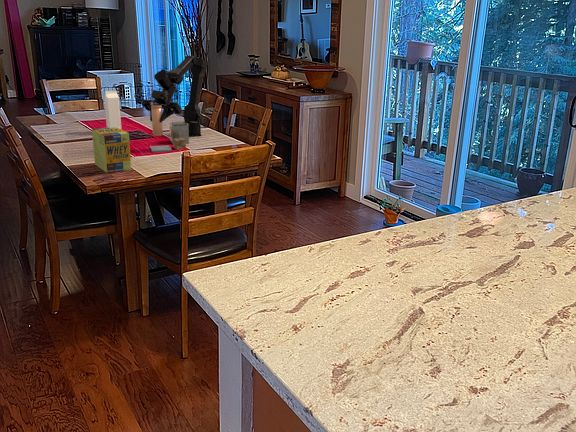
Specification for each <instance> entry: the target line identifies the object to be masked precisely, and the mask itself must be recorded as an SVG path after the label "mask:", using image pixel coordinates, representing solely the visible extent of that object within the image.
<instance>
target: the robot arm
mask: <svg viewBox="0 0 576 432" xmlns="http://www.w3.org/2000/svg"><path fill="white" fill-rule="evenodd" d="M207 68H208V63H207V62H206V60H205V59H202V58H199V57H197V56H195V55H186V56H184V58H183V60H182V61H181V62H180V63H179V64H178V65H177V66H176V67H175V68H173V69H170V70H168V71H167V70H166V69H161V70H159V71H158V72H156V73H155V74H154V79H155V81H156V83H157V84H158V86H159V87H160V88H162V89H161V90H152V92H151V95H150V96H151V97H150V98H152V99H154V101H152V100H151V99H143V100H142V101H141V105H142V106H143V108H144V109H145V110H146V111H147V112H149V116H150V118H149V120H150V122H152V112H151V105H162V107H161V108H162V110H163V111H162V115H161V118H160V122H162V123H163V122H164V121H165V120H167V119H168V118H169V117H171V116H173V115H174V114H175V115H181V113H182V110H183V113H182V114H183V122H186V123H187V124H188V130H189V137H202V134H201V133H202V131H201V130H202V129H201V125H203V124H204V121H205V120H204V118H203V115H201V109H200V106H199V102H200V101H199V100H200V95H201V94H200V93H201V85H202V79H203V77H204V75H205V74H206V73H207ZM188 71H190V73H191V83H190V89H189V98H188V104H187V105H184V107H183V109H182V107H181V105H180V104H179V103H178V102H176V101H174V99H173V97H174V94H175V93H178V91H179V90H178V89H177V88H178V87H177V86H176V85H181V84H182V83H183V81H184V80H185V79H184V75H186V73H187V72H188ZM155 102H156V103H155Z"/></svg>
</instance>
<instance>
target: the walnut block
mask: <svg viewBox="0 0 576 432" xmlns="http://www.w3.org/2000/svg"><path fill="white" fill-rule="evenodd" d="M172 146H173V147H172V148H173V149H175V150H178V151H179V149H180V150H185V149H184V148H186V149H187V143H186V140H185V139H183V138H176V139H173V144H172Z"/></svg>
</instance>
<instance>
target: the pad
mask: <svg viewBox="0 0 576 432" xmlns="http://www.w3.org/2000/svg"><path fill="white" fill-rule="evenodd" d="M149 148H150V150H151V152H152V153H167V152H169V151H170V152H173V150H172V148H171V146H170V145H167V144H166V145H150V146H149Z"/></svg>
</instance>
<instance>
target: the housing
mask: <svg viewBox="0 0 576 432" xmlns="http://www.w3.org/2000/svg"><path fill="white" fill-rule="evenodd" d="M189 137H190V136H189V130H188V123H186V122H185V121H171V122H169V139H170V140H169V141H170V142H171V143H172V145H173V139H176V138H183V139H185V140H186V144H190V138H189Z"/></svg>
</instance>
